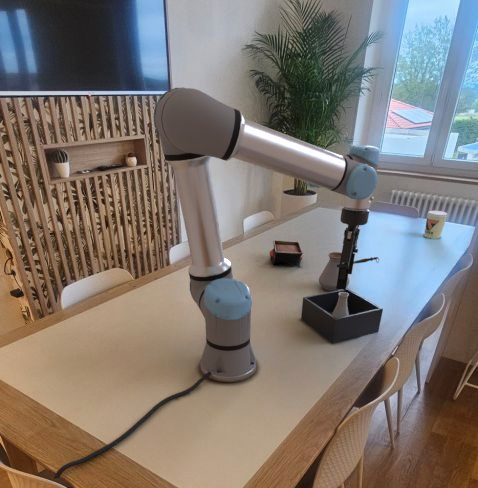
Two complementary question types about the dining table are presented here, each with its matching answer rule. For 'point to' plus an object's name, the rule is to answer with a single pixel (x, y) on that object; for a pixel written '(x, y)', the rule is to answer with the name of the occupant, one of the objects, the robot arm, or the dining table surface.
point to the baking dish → (286, 252)
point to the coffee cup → (435, 224)
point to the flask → (341, 306)
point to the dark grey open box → (339, 329)
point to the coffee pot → (335, 271)
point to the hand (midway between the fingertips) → (344, 281)
